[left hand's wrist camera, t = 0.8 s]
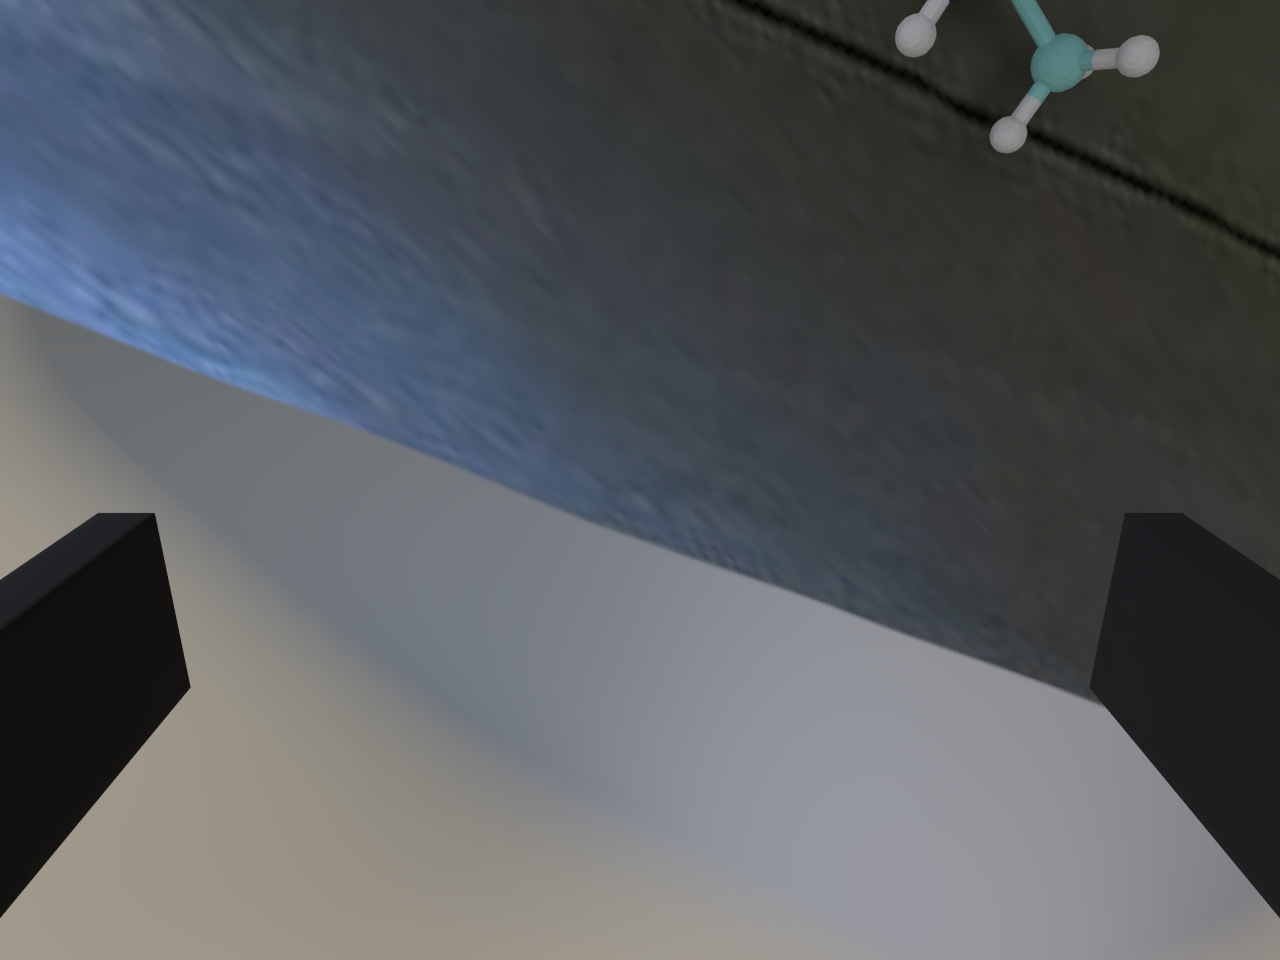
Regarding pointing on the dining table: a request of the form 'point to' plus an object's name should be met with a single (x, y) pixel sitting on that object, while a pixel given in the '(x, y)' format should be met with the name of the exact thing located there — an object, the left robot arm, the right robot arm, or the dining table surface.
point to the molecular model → (1036, 61)
